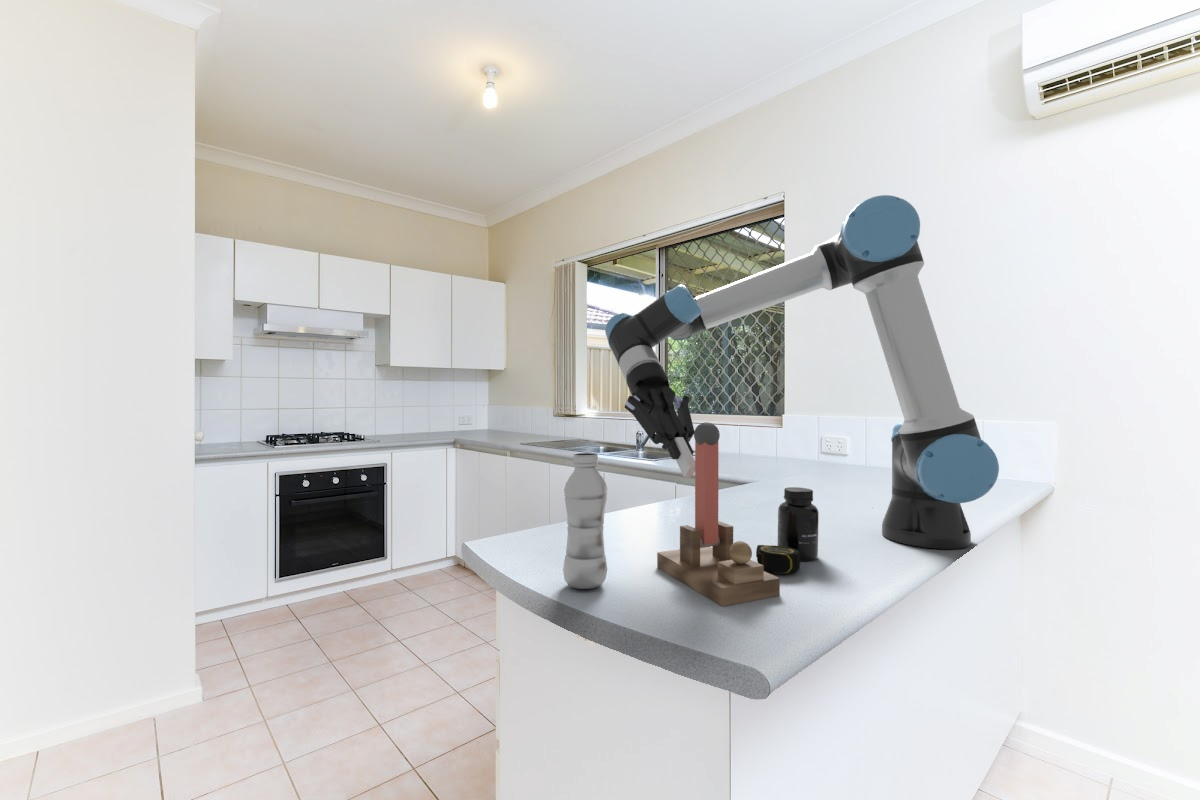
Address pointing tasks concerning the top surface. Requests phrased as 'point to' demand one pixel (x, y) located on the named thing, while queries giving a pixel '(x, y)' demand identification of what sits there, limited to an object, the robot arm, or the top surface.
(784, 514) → the supplement bottle
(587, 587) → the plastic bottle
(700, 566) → the cracker base
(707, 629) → the top surface
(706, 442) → the lever
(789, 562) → the tape measure
